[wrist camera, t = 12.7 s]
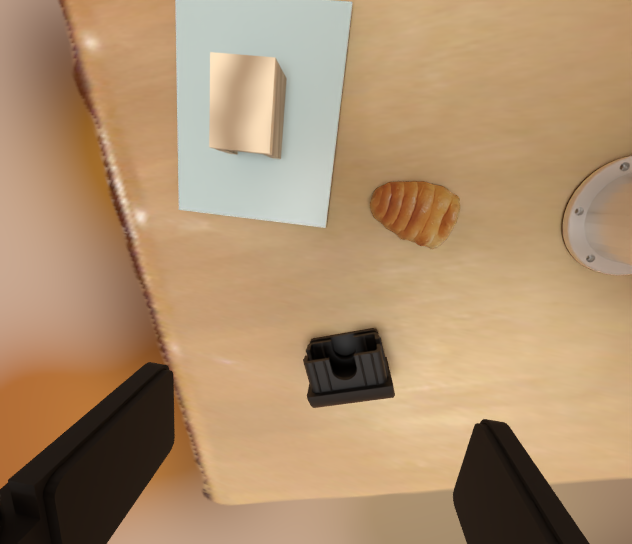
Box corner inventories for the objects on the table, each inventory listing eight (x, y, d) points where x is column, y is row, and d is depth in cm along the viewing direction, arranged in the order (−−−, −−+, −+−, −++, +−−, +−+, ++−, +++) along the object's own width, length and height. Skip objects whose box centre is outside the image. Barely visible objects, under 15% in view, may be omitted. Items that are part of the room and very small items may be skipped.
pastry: (361, 225, 35) (362, 228, 32) (381, 168, 33) (385, 164, 30) (436, 249, 35) (446, 255, 31) (460, 193, 33) (474, 193, 30)
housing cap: (286, 78, 31) (275, 57, 26) (280, 159, 33) (269, 153, 28) (231, 73, 31) (210, 52, 26) (229, 153, 33) (209, 147, 29)
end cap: (318, 384, 41) (312, 419, 35) (306, 339, 40) (298, 367, 33) (389, 373, 40) (397, 409, 33) (380, 326, 38) (386, 353, 32)
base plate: (352, 7, 30) (352, -16, 26) (326, 226, 35) (323, 230, 32) (180, -5, 31) (160, -29, 27) (183, 209, 37) (166, 210, 33)
